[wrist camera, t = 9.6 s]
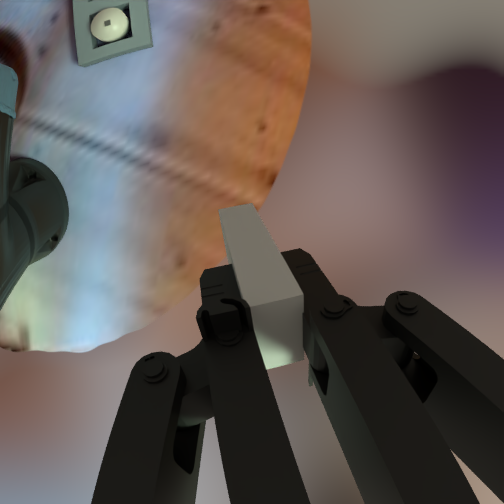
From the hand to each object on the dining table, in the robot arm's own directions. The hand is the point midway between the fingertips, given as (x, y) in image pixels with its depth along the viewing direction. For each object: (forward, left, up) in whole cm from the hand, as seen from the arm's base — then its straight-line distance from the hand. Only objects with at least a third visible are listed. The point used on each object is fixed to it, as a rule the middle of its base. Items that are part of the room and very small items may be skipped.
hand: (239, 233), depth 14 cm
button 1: (-9, +18, -26) cm, 33 cm away
